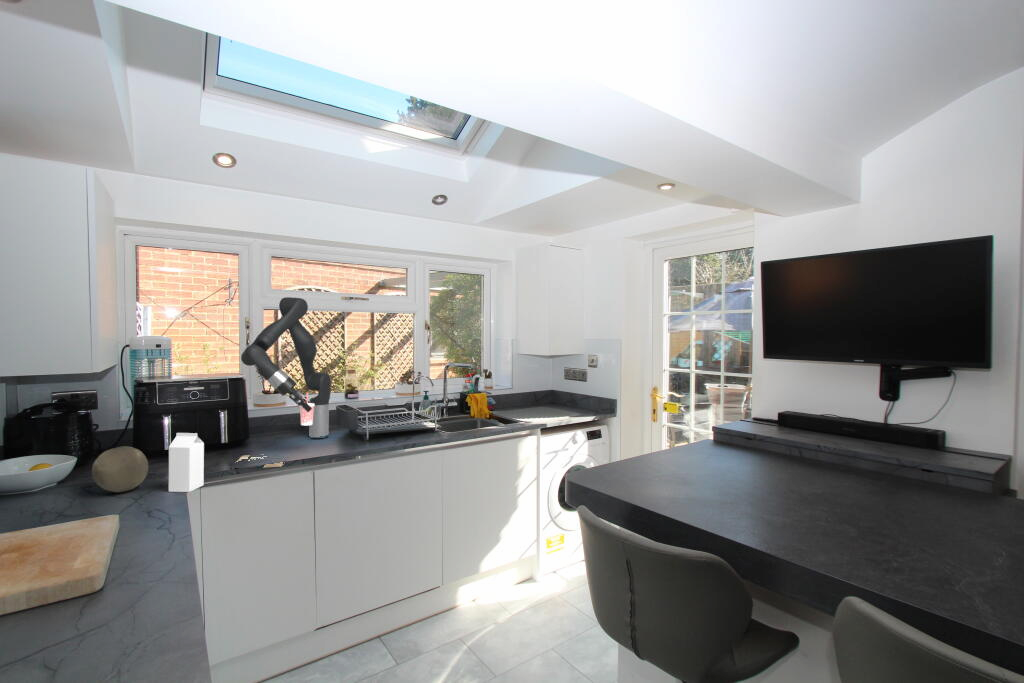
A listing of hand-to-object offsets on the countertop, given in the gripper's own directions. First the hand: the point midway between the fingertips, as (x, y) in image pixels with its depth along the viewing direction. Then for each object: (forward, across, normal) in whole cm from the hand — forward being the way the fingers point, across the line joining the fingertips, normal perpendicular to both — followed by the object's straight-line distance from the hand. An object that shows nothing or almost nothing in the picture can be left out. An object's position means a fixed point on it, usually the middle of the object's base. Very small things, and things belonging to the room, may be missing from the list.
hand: (311, 409), depth 208 cm
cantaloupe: (-24, -38, +53) cm, 69 cm away
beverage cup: (+4, 0, +6) cm, 7 cm away
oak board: (+2, -8, +27) cm, 28 cm away
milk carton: (-10, -38, +39) cm, 56 cm away
